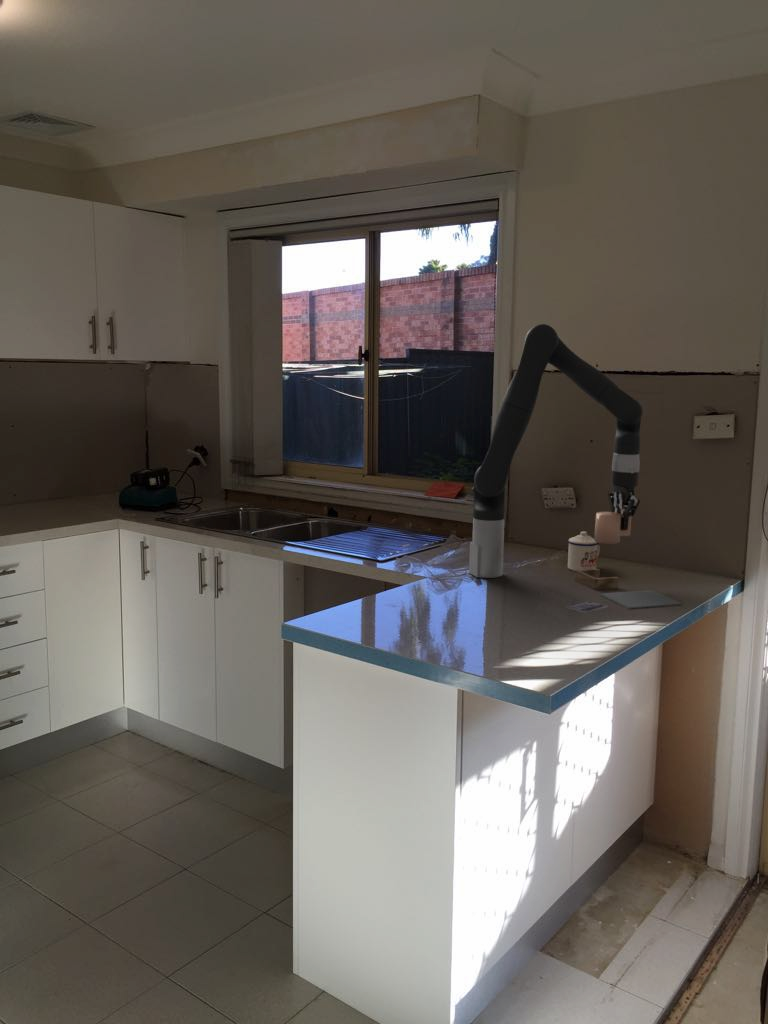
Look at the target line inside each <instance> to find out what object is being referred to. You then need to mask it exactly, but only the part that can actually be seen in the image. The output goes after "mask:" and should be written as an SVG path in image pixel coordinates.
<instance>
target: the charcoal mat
mask: <svg viewBox="0 0 768 1024" xmlns="http://www.w3.org/2000/svg"><path fill="white" fill-rule="evenodd" d="M599 596H600V597H603V598H605V599H607V600H609V601H611V602H613V603H615V604H616V605H619V606H621V607H623V608H625V607H626V608H625V609H627V608H628V609H627V610H632V608H636V609H647V608H646V607H648V608H659V607H669V606H672V607H673V606H681V605H682V603H681V602H679V601H677V600H675V599H674V598H673V599H672V598H671V597H669V596H666V595H663V594H661V593H659V592H656V591H654V590H652V589H646V590H642V589H641V590H634V591H633V590H631V591H617V592H607V593H606V592H605V593H604V592H603V593H600V594H599ZM643 607H644V608H643Z"/></svg>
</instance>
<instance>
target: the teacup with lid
mask: <svg viewBox="0 0 768 1024" xmlns="http://www.w3.org/2000/svg"><path fill="white" fill-rule="evenodd" d="M594 538H595V537H594ZM594 538H593V537H592V536H590V535H588V532H587V531H580V534H578V535H576V536H573V537H570V538H569V539H568V541H567V543H568V553H567V554H568V555H567V568H568V569H569V570H571V571H573V572H575V570H585V569H597V560H598V557H599V554H600V551H601V548H600V545H599V543H598V542H595V541H594Z"/></svg>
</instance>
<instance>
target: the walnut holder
mask: <svg viewBox="0 0 768 1024" xmlns="http://www.w3.org/2000/svg"><path fill="white" fill-rule="evenodd" d="M574 572H575V573H574V581H576V582H578V583H580V584H582V585H584V586H585V587H588V588H590V589H592V590H606V589H607V590H609V589H618V588H619V576H609V577H606V576H605V577H600V575H601V573H600V572H601V569H600V568H596V569H585V570H575V571H574Z"/></svg>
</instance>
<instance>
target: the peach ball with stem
mask: <svg viewBox="0 0 768 1024" xmlns="http://www.w3.org/2000/svg"><path fill="white" fill-rule="evenodd" d="M632 517H633V516H630V517H629V520H628V529H627V530H620V527H621V514H620V513H615V512H612V511H597V512H596V513H595V523H594V541H595V542H598V544H606V545H607V544H609V545H614V544H615V545H617V544H619V543H620V541H621V540H620V538H621V537H631V531H632Z"/></svg>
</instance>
